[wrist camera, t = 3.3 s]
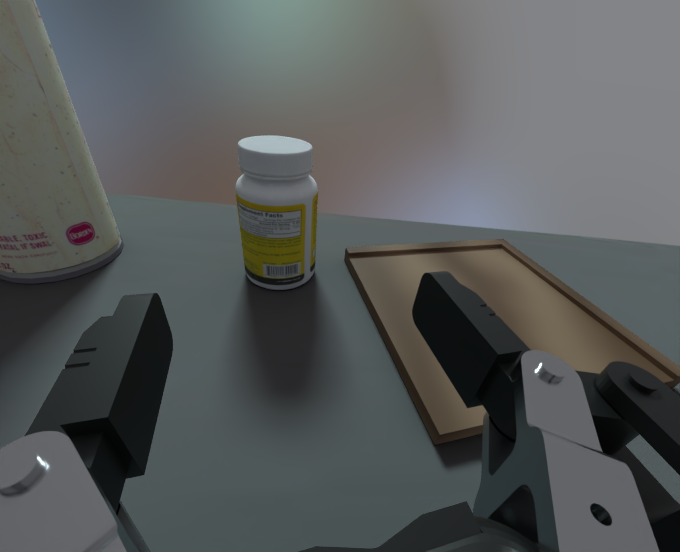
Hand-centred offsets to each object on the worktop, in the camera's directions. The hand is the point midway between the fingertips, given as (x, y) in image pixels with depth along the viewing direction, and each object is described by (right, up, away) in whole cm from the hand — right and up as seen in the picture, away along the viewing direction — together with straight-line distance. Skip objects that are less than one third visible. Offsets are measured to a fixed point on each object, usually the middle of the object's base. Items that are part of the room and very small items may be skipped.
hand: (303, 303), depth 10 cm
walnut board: (+10, -1, +10) cm, 14 cm away
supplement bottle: (-3, +1, +12) cm, 12 cm away
